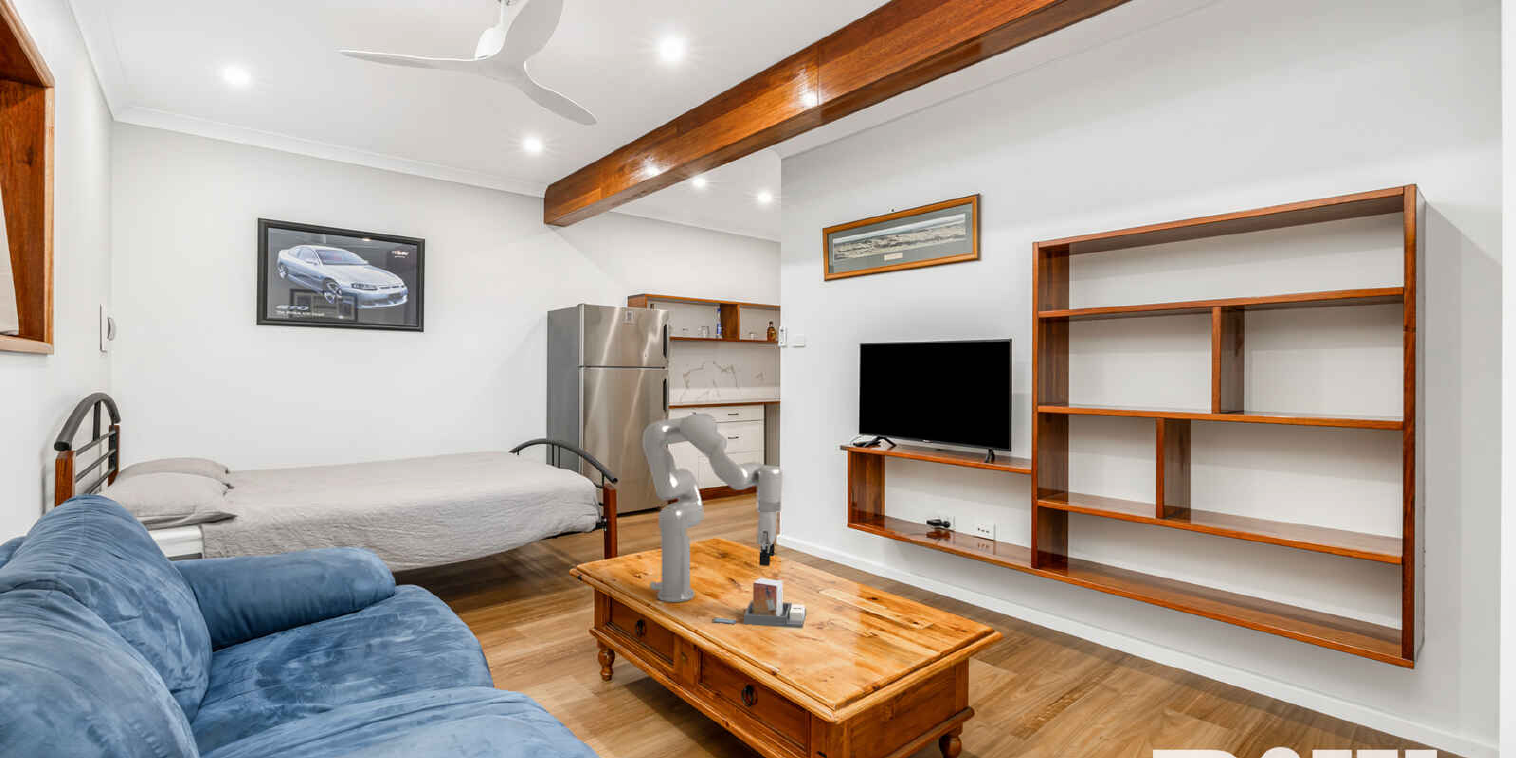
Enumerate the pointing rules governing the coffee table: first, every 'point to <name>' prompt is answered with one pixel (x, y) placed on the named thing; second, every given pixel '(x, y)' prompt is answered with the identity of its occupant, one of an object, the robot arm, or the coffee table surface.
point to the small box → (768, 597)
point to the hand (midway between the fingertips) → (766, 560)
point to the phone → (724, 621)
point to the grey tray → (789, 618)
